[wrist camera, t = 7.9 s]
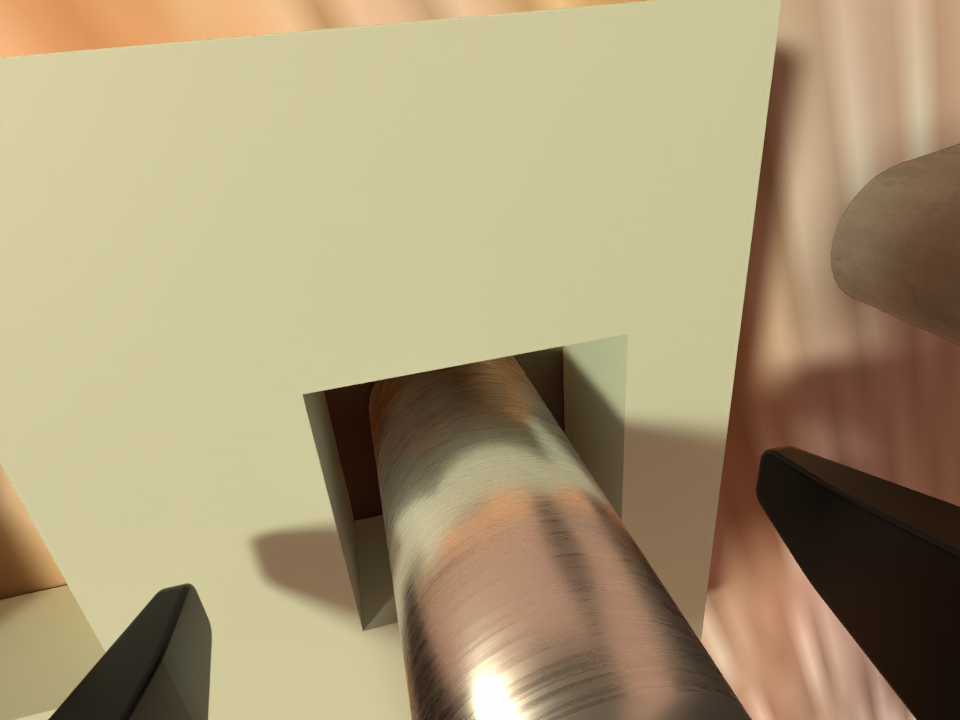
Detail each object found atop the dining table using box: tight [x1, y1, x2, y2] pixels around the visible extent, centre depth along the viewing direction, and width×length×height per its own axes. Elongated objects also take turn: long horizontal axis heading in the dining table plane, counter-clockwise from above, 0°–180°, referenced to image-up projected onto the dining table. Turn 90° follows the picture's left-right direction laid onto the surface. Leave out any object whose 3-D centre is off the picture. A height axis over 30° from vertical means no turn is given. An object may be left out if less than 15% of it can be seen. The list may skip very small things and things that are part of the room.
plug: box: [369, 355, 751, 720], centre depth 9 cm, size 3×3×8 cm
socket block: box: [0, 0, 782, 720], centre depth 11 cm, size 18×14×3 cm
